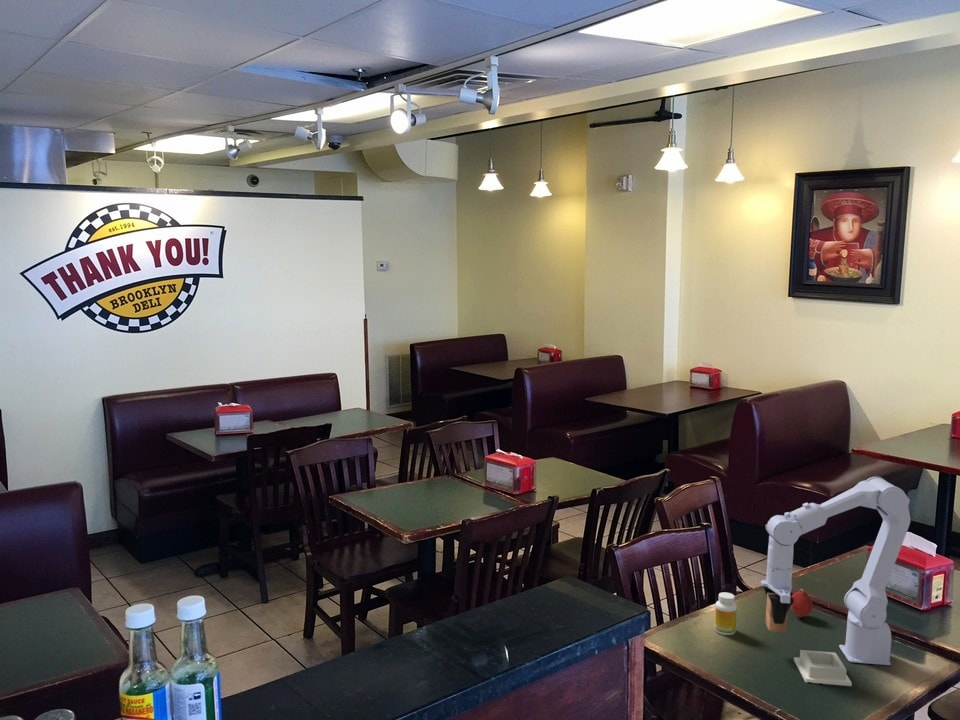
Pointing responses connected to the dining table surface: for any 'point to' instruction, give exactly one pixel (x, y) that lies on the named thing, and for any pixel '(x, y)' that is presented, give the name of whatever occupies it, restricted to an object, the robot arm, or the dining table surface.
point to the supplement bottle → (725, 614)
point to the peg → (769, 618)
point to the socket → (822, 668)
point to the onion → (801, 603)
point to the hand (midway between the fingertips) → (776, 618)
